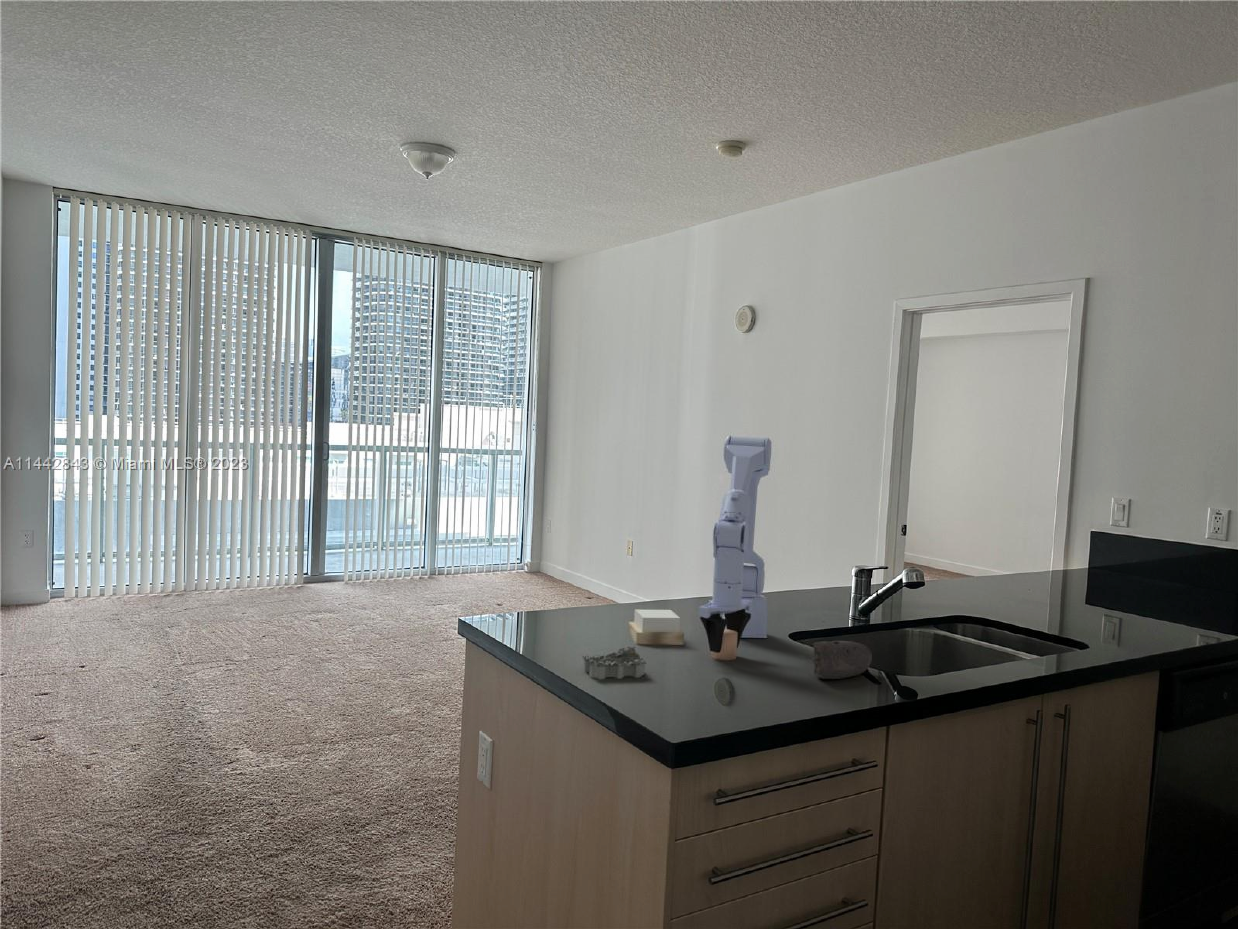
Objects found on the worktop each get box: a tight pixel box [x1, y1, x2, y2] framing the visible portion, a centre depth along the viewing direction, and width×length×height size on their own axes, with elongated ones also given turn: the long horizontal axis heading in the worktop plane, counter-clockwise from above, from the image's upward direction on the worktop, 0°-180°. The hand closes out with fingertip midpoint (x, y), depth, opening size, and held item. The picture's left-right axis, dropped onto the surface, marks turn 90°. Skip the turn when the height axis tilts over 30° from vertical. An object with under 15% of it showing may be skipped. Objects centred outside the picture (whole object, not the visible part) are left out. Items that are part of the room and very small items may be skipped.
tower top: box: [633, 609, 681, 632], centre depth 175 cm, size 8×8×3 cm
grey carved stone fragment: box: [581, 646, 648, 680], centre depth 148 cm, size 11×8×4 cm
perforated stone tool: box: [811, 640, 873, 680], centre depth 154 cm, size 15×5×7 cm, turn 119°
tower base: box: [627, 621, 685, 646], centre depth 176 cm, size 10×10×3 cm
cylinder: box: [710, 629, 738, 661], centre depth 163 cm, size 5×5×5 cm
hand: (723, 649), depth 163 cm, fingers closed on cylinder, 5 cm apart
